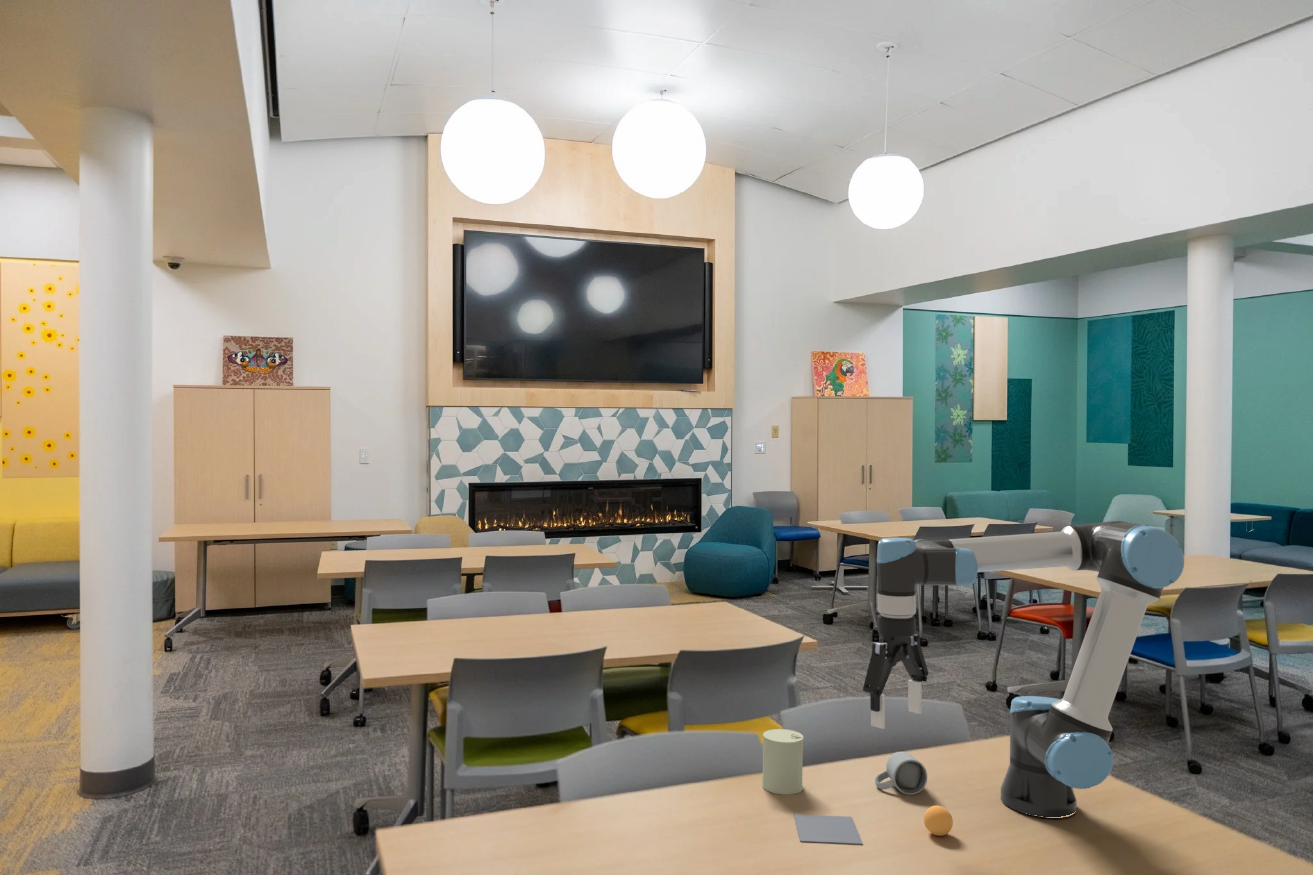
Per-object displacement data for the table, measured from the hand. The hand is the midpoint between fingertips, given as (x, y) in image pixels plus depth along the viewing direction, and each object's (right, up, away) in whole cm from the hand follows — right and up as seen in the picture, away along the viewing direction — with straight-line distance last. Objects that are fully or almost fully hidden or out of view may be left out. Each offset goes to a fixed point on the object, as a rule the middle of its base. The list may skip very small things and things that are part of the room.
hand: (896, 719), depth 173 cm
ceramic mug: (+6, -23, +20) cm, 31 cm away
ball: (+7, -19, -3) cm, 21 cm away
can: (-20, -22, +20) cm, 36 cm away
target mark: (-15, -22, -1) cm, 26 cm away
